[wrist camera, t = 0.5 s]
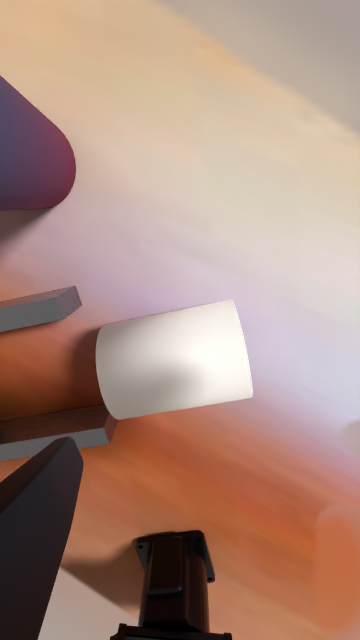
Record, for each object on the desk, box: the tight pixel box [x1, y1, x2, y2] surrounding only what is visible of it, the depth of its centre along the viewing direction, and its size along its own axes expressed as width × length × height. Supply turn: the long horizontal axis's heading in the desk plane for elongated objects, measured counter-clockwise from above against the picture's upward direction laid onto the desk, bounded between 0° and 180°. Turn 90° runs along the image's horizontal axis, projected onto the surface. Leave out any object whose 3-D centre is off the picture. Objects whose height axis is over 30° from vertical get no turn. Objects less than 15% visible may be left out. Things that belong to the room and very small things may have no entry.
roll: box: [96, 300, 253, 420], centre depth 18 cm, size 8×6×6 cm
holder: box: [0, 286, 118, 461], centre depth 20 cm, size 11×11×4 cm
